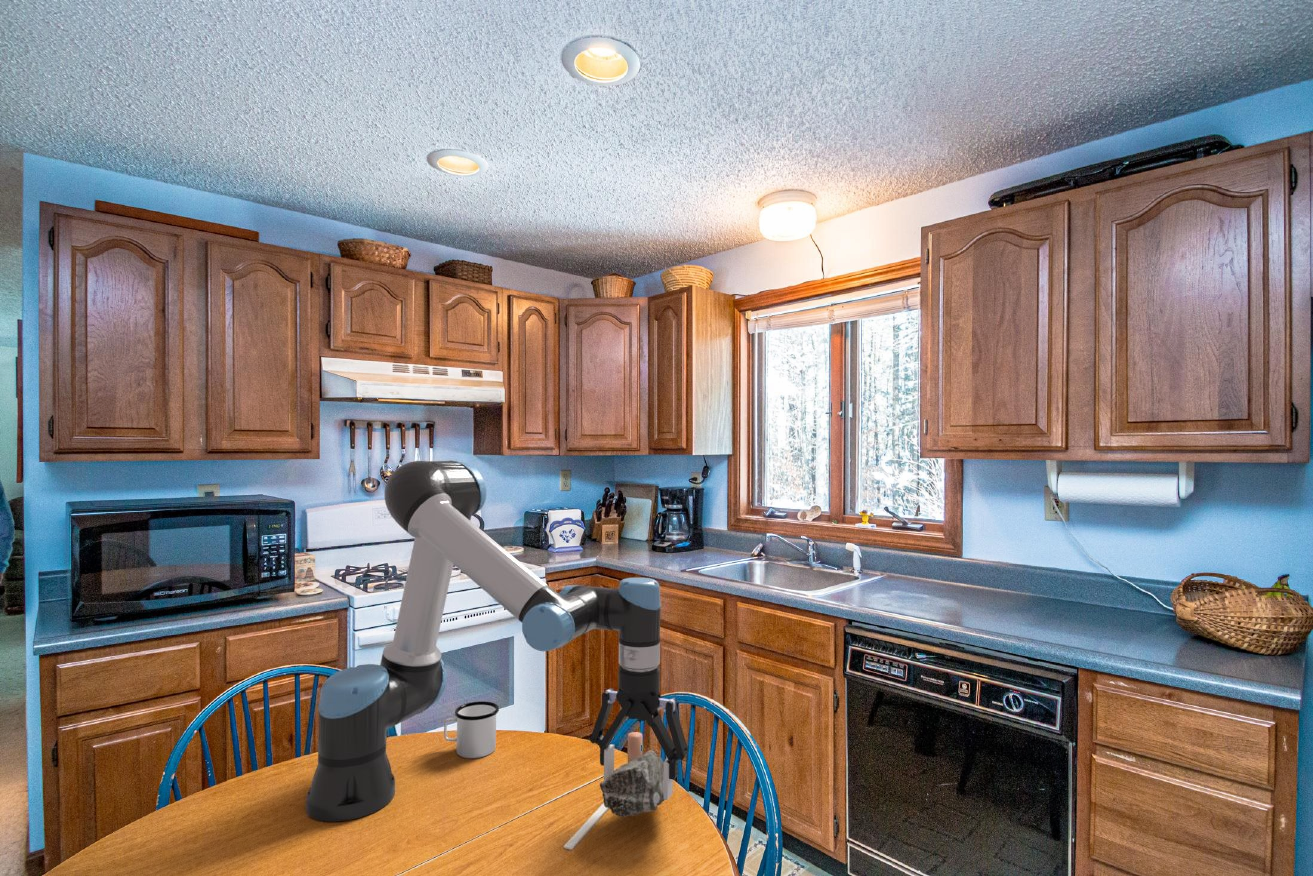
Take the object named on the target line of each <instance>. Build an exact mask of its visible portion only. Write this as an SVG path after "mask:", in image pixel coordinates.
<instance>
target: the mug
mask: <svg viewBox="0 0 1313 876" xmlns="http://www.w3.org/2000/svg"><path fill="white" fill-rule="evenodd" d="M499 711H500V707H499V705H498V704H497V703H495V702H492V701H485V700H483V701H472V702H466V703H464V704H461V705H459V706H458V707H457V708H456V709H455V710H454V716H455V717H450V718H447V719H445V720H444V726H443V732H444V733H443V734H444V735H443V736H444V739H445V740H446V741H449V742H456V754H457V755H459V756H460V757H462V758H465V759H481V758H484V757H487V756H489V755H491V754H492V753H493V752H495V750H496V749H497V748H496V747H497V714H498V712H499ZM448 722H456V737H448V731H447V727H448Z"/></svg>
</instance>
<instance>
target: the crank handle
mask: <svg viewBox="0 0 1313 876" xmlns="http://www.w3.org/2000/svg"><path fill="white" fill-rule="evenodd" d="M641 745H642V746H643V733H642V732H639V731H631V732H629V733H628V734H627V763H629V762H630V761H633V760H634V759H637V758H638V757H640V756H642V755H643V750H642V751H641ZM609 809H610V808H606V807H605V806H604V802H603V803H602V804H601V805H600V806H599V807H598V808H597V809H596V810H595V811H594V813H593V814H592V815H591V816H590V817H589V818H588V819H587V820H586V821H585V823H584V824H583V825H582V826H581V827H580V828H579V829H578V830H577V831H576V832H575V833H574V835H572V836H571V838H569V840H567V842H566V843H565V844H564V845H563V849H566V850H569V851H573V849H574V848H575V847H576V846H577V845H578V844H579V842H581V840H583V838H584V837H585V836H586V835H587V834H588V833H589V831H590V830H591V829H593V827H594V826H596V823H597V822H599V820H600V819H601V818H602V817H603V815H605V813H606V812H607V811H608V810H609Z"/></svg>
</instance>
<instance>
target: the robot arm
mask: <svg viewBox="0 0 1313 876" xmlns="http://www.w3.org/2000/svg"><path fill="white" fill-rule="evenodd" d="M384 487H385V488H384V502H385V505H386V509H387V510H388V513H389V514H390V516H391V517H392V518H393V520H394V521H395V522H396V523H397V524H398V525H399V526H400V527H401V529H403V530H404V531H405V532H406V533H407V534H409V535H410V537H413V538H414V540H413V545H412V550H411V555H410V560H409V564H408V569H407V573H406V578H405V579H406V580H405V583H404V584H405V585H404V588H403V593H402V598H401V603H400V608H399V612H398V617H397V622H396V627H395V632H394V635H393V640H392V641H391V642H390V643H388V644H387V645H386V646H385V647H384V648H383V651H382V653H381V655H382V656H381V660H380V664H373V663H368V664H367V663H366V664H359V665H357V666H355V667H354V666H350V667H347V668H344V669H342V670H340V671H337V672H335V673H334V674H331V676H329V677H328V678H326V679H325V681H324V682H323V684H322V685H321V688H320V695H319V696H320V697H319V702H318V704H317V705H318V706H317V707H318V708H317V710H318V747H317V753H318V754H317V765H316V768H315V771H314V774H313V778H312V780H311V785H310V788H309V789H308V791H307V793H306V796H305V812H306V815H308V817H310V818H312V819H313V820H317V821H320V822H329V823H331V822H344V821H350V820H351V821H352V820H354V819H359V818H362V817H366V816H368V815H371V814H373V813H375V812H378V811H380V810H382V808H384V807H386V806H387V805H388V804H389V803H390V802H392V800H393V799H394V798H395V794H396V779H395V778H396V777H395V776H394V774H393V771H392V767H391V764H390V761H389V758H388V755H387V733H388V732H387V730H389V729H391V728H393V727H394V726H396V725H398V724H400V723H403V722H404V721H406V720H408V719H411V718H412V717H414V716H416V715H419V714H421V713H423V712H425V711H426V710H428V709H429V708H430V707H431V706H433V705H435V704H436V703H437V702H438V701H439V700H440V698H441V697H442V696H443V694H444V692H445V689H446V687H447V681H448V673H447V669H446V668H444V666H445V662H444V661H443V659H442V656H443V655H442V652H441V650H440V649H439V647H437V642H438V639H439V633H440V628H441V624H442V621H443V615H444V614H443V613H444V610H445V605H446V600H447V596H448V591H449V586H450V583H451V577H452V572H453V568H454V566H455V567H456V568H457V569H459V571H461V572H463V574H465V576H467V577H468V578H469V579H470V580H471V581H472V582H473V583H475V584H476V585H477V586H478V587H480V588H481V589H482V591H484V592H485V593H486V594H488V596H490V597H491V598H493V600H495V601H496V602H497V603H498V604H499V605H501V607H503V608H504V609H505V610H506V611H508V612H509V613H510V614H511V615H512V616H513V617H515V618H516V619H517V620H518V621H519V622H521V631H522V635H523V637H524V639H525V641H526V643H527V645H529V646H530V647H531V648H532V649H533V650H535V651H540V652H549V651H552V650H556V649H559V648H562V647H564V646H566V645H568V643H569V642H571V641H572V640H574V639H576V638H578V637H580V636H582V635H584V634H586V633H588V632H589V631H592V630H607V631H615V632H616V631H617V632H618V664H619V665H620V666H619V667H618V673H617V674H618V677H617V685H618V690H614V689H613V688H612V687H611V688H608V689H606V690H605V691H603V692H602V694H601V706H600V708H599V709H600V710H599V711H598V715H597V718H596V720H595V723H594V727H593V728H592V729H593V730H592V733H591V734H590V740H589V741H590V743H592V744H596V745H598V746H599V764H600V766H602V767H603V781H604V780H605V779H606V778H608V777H609V776H610V775H611V774H612V773H613V772H614V771H615V744H612V740H613V739H614V737H615V736H616V735H617V732H618V731H619V730H620V728H621V726H622V725H623V723H624V722H625V721H626V719H627V718H628V719H629V720H638V721H640V722H642V721H643V722H645V721H646V724H647V725H648V727H650V728H651V730H652V732H653V733H654V735H655V738H656V739H657V741H658V743H659V746H660V747H661V748H662V750H663V752H664V754H665V756H666V758H665V759H664V761H663V762H664V801H668V800H669V799H670V798H671V796H672V795H673V794H674V780H676V779H677V777H678V774H679V760H680V761H683V760H684V759H685V758H686V756H687V755H688V754H689V748H688V744H687V741H686V737H685V735H684V731H683V728H682V725H681V721H680V717H679V715H678V711H677V708H678V707H677V706H678V701H677V699H676V698H675V697H671V698H670V699H668V698H662V696H661V693H660V690H661V689H660V687H661V668H660V667H659V665H660V664H661V610H662V609H661V608H662V602H661V587H660V586H661V585H660V583H659V582H658V580H655V579H654V578H650V577H649V578H648V577H627V578H624V579H621V580H620V581H619V586H618V587H617V588H610V587H601V586H591V585H590V586H589V585H584V584H578V585H573V584H572V585H571V584H569V585H565V586H563V587H562V588H561V589H560V592H559V593H558V592H557V591H556V590H555V589H553V588H552V587H550V585H548V584H547V583H546V582H545V581H543V580H542V578H540V577H539V576H537V575H536V574H535V573H534V572H533V571H531V570H530V569H529V568H528V567H527V566H526V565H524V564H523V563H522V562H521V561H519V560H518V559H517V558H515V556H514V555H512V554H511V553H510V552H508V551H507V550H506V549H504V548H503V547H502V546H501V545H500V544H499V543H498V542H496V541H495V540H494V539H492V537H490V536H489V535H488V534H487V533H486V532H484V531H483V530H482V529H481V528H479V527H478V526H477V525H476V524H475V523H474V522H472V520H471V519H472V516H475V515H476V514H477V513H479V511H480V510H482V509H483V507H484V505H485V503H486V500H487V499H486V498H487V486H486V482H485V479H484V478H483V476H482V474H481V472H480V471H479V470H478V469H477V468H476V467H475V466H474V465H472V464H470V463H467V462H463V461H458V460H456V461H455V460H430V461H429V460H428V461H427V460H415V461H410V462H406V463H404V464H403V465H401V466H399V467H397V468H396V469H395V470H394V471H392V473H391V475H390V476H389V478H388V479H387V482H386V484H385V486H384ZM616 701H617V703H618V704H619V706H620V708H621V709H620V710H619V711H618V713H617V715H616V716H615V719H614V720H613V721H612V723H611V724H610V726H609V728H608V729H607V731H606V732H605V734H604V731H605V727H606V725H607V723H608V720H609V717H610V715H611V711H612V707H613V704H614V703H615V702H616ZM659 707H662V711H663V713H665V718H666V723H667V725H668V729H669V731H668V729H667V727H666V725H665V724H664V722H663V720H662V716H661V715H662V714H661V713H660V711H659V710H658V709H659ZM669 732H670V733H669ZM603 734H604V735H603ZM610 743H611V744H610Z"/></svg>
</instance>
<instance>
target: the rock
mask: <svg viewBox="0 0 1313 876" xmlns="http://www.w3.org/2000/svg"><path fill="white" fill-rule="evenodd" d="M599 787H600V790H601V792H602V798H603V800H602V801H603V803H604V806H605V807H606V808H609V809H610V811H611V813H612V814H613V815H616V816H618V817H621V818H625V817H629V816H637V815H640V814H641V813H648V812H649V813H651V812H652V811H656V810H657V809H658V807H659V806H661V805H662V803H663V802H664V801H665V800H664V761H663V758H662V757H660V756H659V755H657V753H656V752H655V751H654V750H652V749H651V750H650V749H649V750H648V751H646V752H644V753H642V756H640V757H638V758H637V759H634V760H633V761H630V762H629V763H628V762H626V763H624V764H621V765H620V766H619V767H618V768H615V769H614V772H613V773H612V774H611V775H610V776H609V777H608V778H606V779H605V780H604V779H603V780H602V781H601V782H600V783H599Z"/></svg>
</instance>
